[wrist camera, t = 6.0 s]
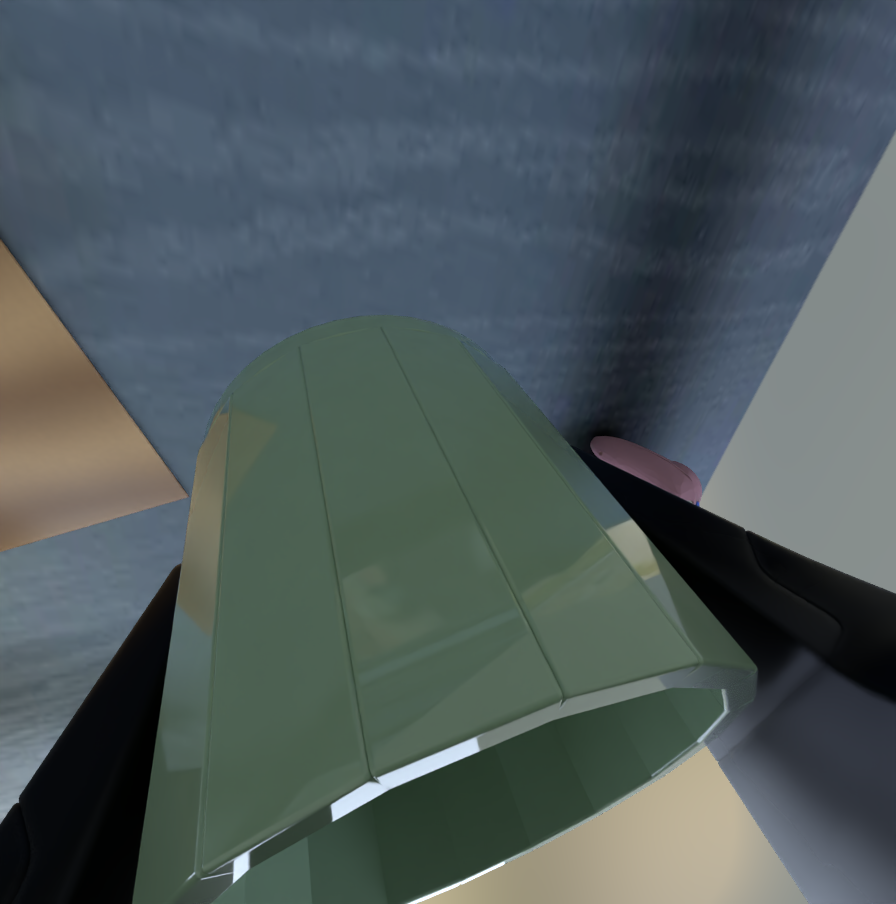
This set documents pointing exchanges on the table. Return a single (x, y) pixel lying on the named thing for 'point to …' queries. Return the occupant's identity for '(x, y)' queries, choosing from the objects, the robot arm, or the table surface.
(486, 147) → the table surface
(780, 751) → the robot arm
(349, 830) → the glazed cup
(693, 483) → the video game controller
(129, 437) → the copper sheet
